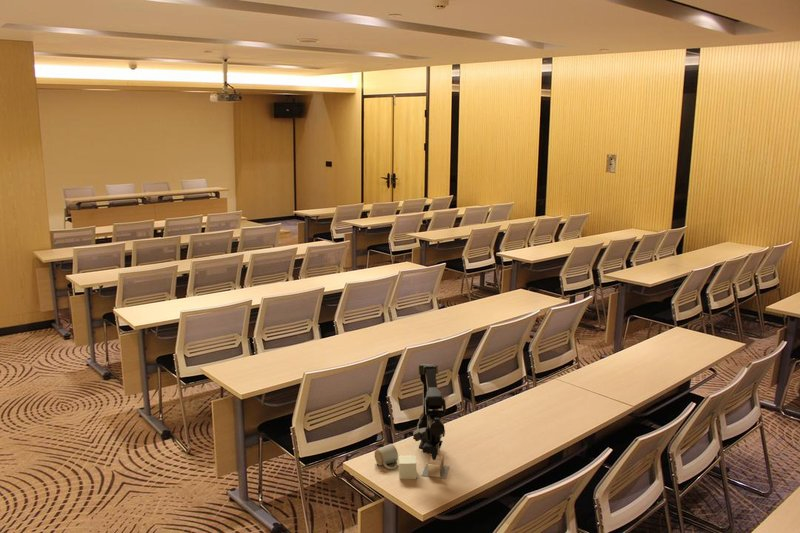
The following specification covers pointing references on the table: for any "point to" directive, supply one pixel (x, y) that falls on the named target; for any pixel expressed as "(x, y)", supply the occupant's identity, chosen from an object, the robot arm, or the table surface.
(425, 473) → the felt pad
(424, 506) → the table surface
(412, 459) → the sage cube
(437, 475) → the walnut block
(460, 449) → the table surface
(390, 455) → the ceramic mug
